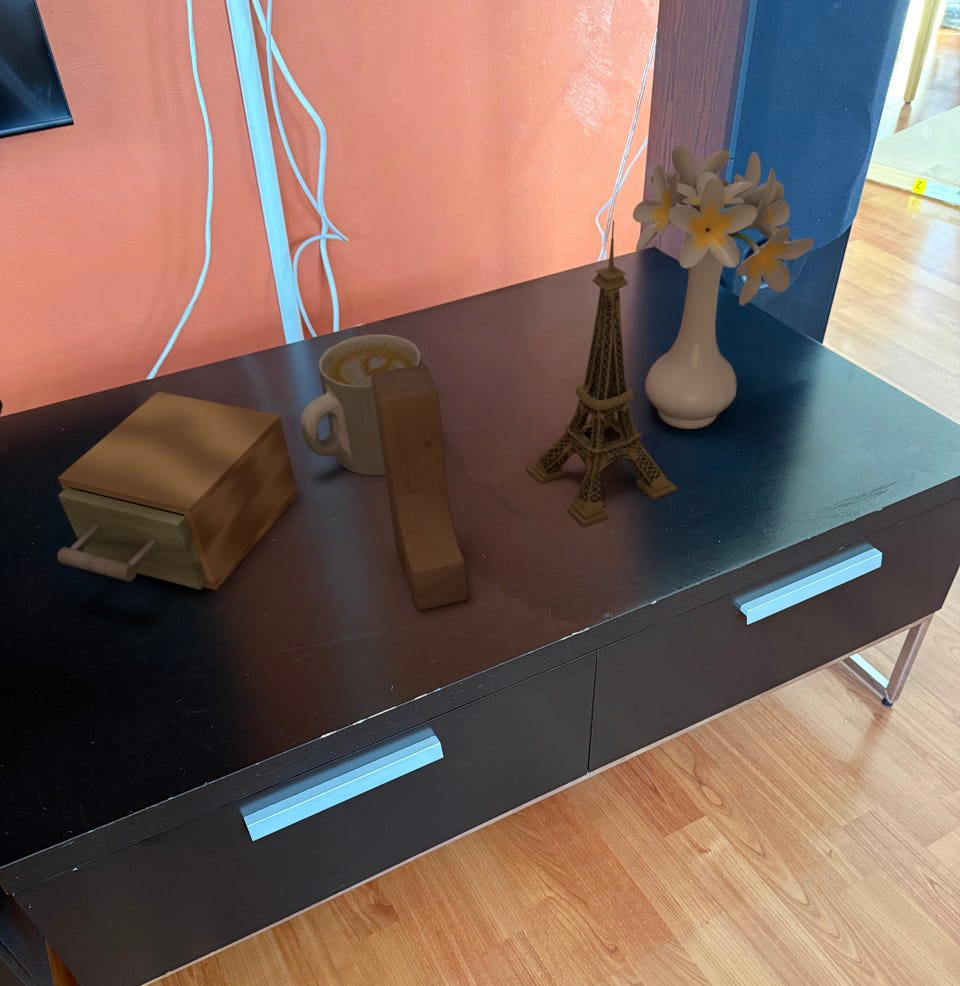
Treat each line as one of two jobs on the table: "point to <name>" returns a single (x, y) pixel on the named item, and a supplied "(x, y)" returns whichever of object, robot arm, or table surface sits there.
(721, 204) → the flower vase
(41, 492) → the table surface
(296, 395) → the table surface
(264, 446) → the cabinet
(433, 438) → the wooden block
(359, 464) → the coffee mug
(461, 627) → the table surface
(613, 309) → the eiffel tower
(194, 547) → the drawer
